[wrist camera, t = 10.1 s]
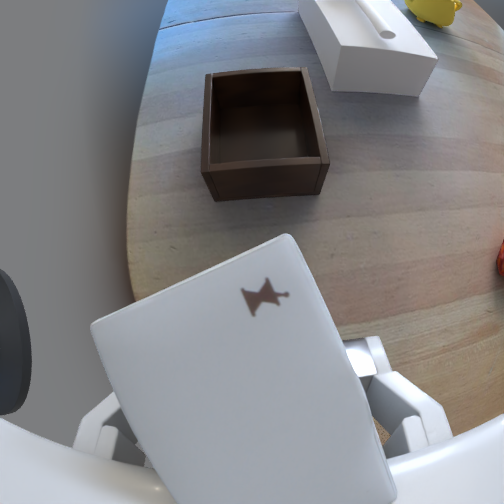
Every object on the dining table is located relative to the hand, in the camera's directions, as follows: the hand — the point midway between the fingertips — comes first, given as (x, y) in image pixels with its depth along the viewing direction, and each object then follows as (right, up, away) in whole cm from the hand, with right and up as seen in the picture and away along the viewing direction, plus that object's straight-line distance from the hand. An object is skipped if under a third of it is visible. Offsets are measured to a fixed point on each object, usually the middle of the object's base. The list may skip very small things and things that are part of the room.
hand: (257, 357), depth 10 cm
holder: (+1, +16, +24) cm, 29 cm away
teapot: (+40, +59, +31) cm, 77 cm away
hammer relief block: (+17, +39, +28) cm, 51 cm away
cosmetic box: (0, -2, +6) cm, 7 cm away
